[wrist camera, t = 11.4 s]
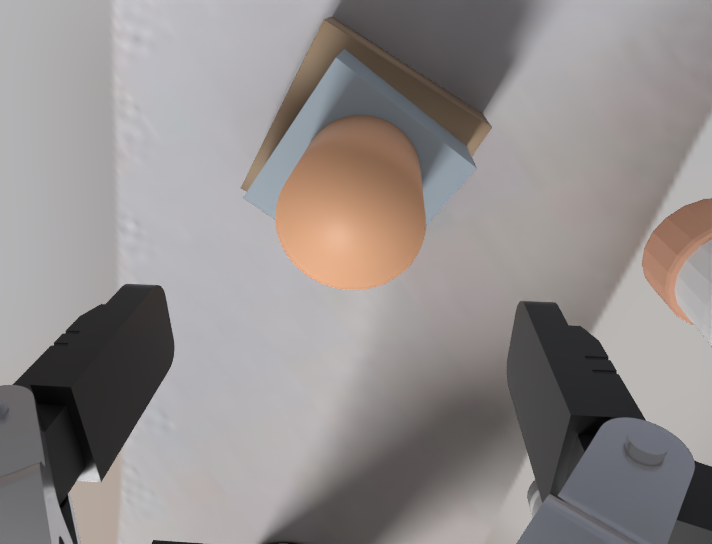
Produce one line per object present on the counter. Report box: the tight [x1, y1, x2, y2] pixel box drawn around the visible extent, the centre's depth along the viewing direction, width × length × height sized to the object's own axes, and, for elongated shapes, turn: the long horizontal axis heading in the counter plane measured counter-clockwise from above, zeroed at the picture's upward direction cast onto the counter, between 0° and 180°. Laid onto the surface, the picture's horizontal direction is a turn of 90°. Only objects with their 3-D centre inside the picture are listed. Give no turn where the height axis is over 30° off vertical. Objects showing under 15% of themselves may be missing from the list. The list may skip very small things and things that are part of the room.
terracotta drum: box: [275, 115, 426, 290], centre depth 22 cm, size 6×6×6 cm
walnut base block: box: [241, 17, 492, 191], centre depth 30 cm, size 10×10×4 cm
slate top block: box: [243, 49, 477, 225], centre depth 27 cm, size 8×8×4 cm
